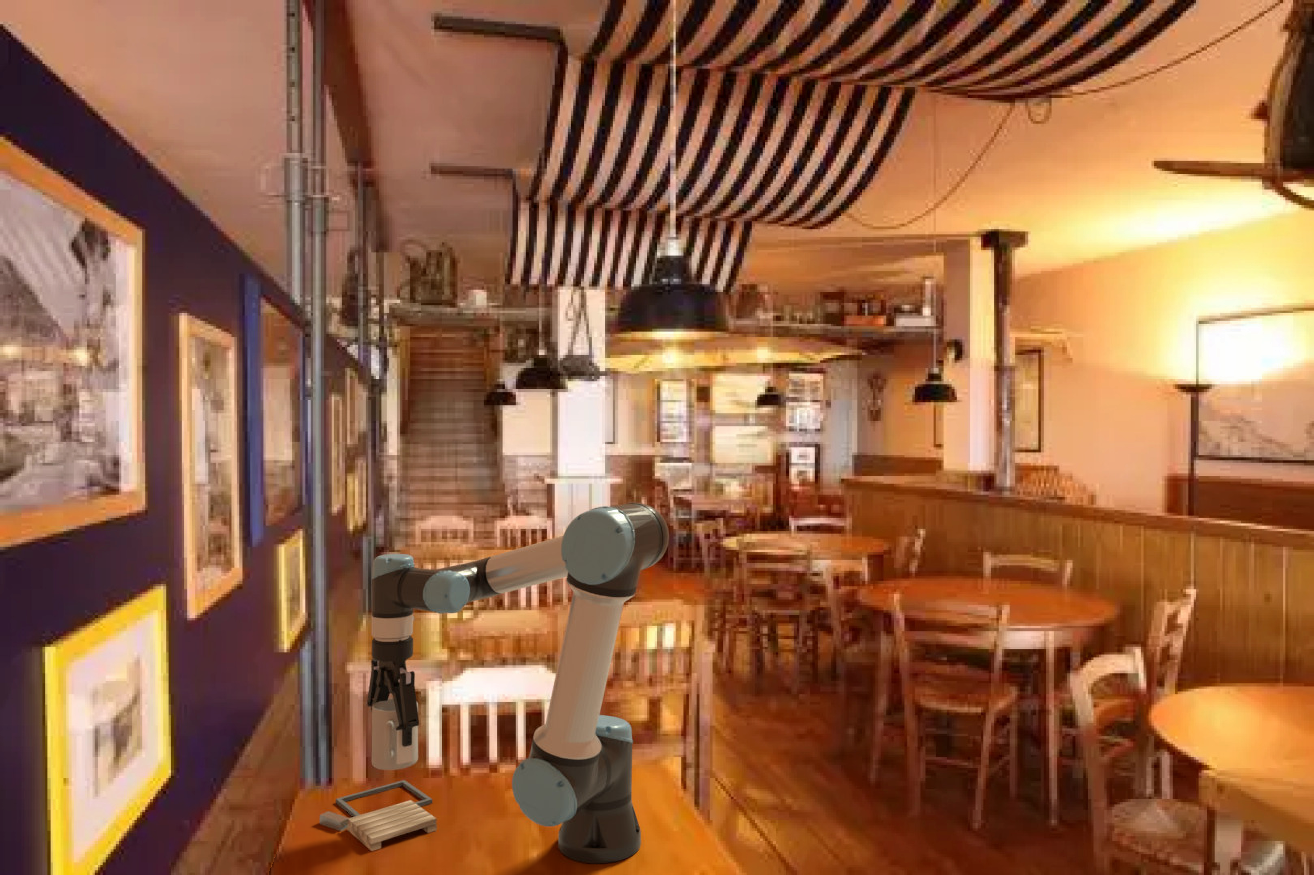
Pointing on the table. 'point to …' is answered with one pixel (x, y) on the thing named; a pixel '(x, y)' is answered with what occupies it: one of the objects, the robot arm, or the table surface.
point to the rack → (390, 823)
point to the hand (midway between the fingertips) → (391, 753)
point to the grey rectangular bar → (334, 820)
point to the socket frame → (352, 812)
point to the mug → (388, 737)
